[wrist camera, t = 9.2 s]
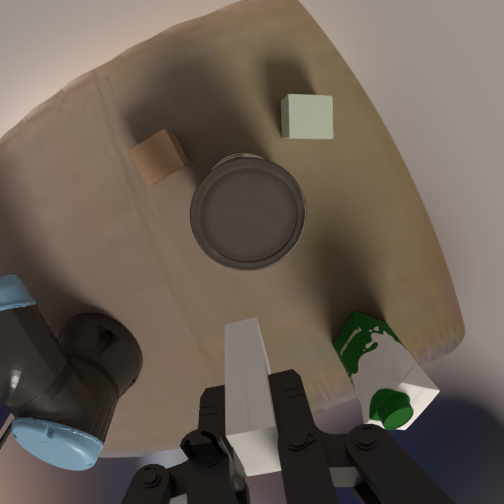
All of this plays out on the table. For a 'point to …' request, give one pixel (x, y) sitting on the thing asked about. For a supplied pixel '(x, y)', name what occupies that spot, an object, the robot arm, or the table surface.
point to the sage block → (307, 117)
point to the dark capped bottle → (3, 412)
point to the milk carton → (383, 373)
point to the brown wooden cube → (158, 156)
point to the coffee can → (248, 213)
